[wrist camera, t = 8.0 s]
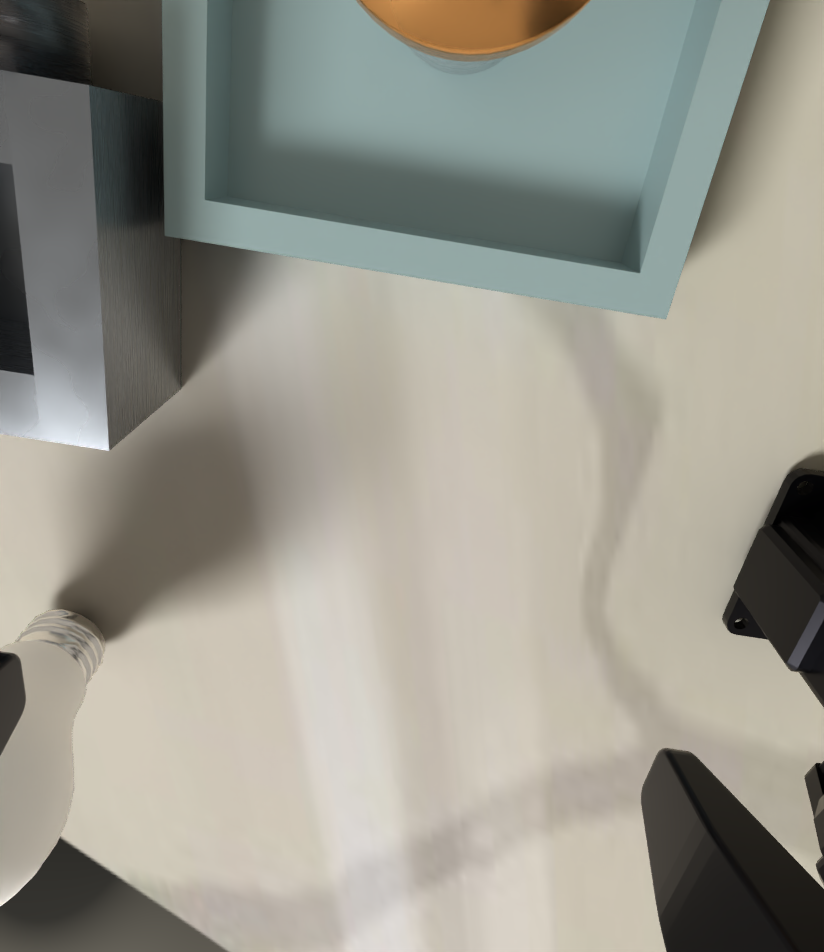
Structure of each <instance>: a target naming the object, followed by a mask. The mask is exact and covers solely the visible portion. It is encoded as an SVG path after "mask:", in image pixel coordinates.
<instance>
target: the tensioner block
mask: <svg viewBox="0 0 824 952" xmlns="http://www.w3.org/2000/svg"><path fill="white" fill-rule="evenodd" d="M180 389H181V238H175V237H169V236H165V224H164V143H163V102H162V101H157V100H153V99H148V98H144V97H139V96H135V95H131V94H126V93H122V92H117V91H113V90H108V89H104V88H99V87H95V86H92V85H91V66H90V48H89V29H88V10H87V6H86V4H85V3H83V2H81V1H80V0H0V434H4V435H11V436H17V437H24V438H30V439H36V440H43V441H49V442H56V443H62V444H68V445H75V446H81V447H88V448H94V449H100V450H107V451H109V450H111V449H112V448H113V447H114V446H115V445H116V444H118V443H119V442H120V441H121V440H122V439H123V438H125V437H126V436H127V435H128V434H129V433H130V432H132V431H133V430H134V429H135V428H136V427H137V426H139V425H140V424H141V423H142V422H143V421H144V420H145V419H147V418H148V417H149V416H150V415H151V414H152V413H154V412H155V411H156V410H157V409H158V408H159V407H161V406H162V405H163V404H164V403H165V402H166V401H168V400H169V399H170V398H171V397H172V396H173V395H175V394H176V393H177V392H178V391H179V390H180Z"/></svg>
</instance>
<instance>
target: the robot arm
mask: <svg viewBox="0 0 824 952" xmlns="http://www.w3.org/2000/svg"><path fill="white" fill-rule="evenodd" d="M804 481H807V484H806V485H805V487H803V488H802V489H797V487H798V486H799V484H800V483H802V482H804ZM739 618H743V619H742V620H741V621H739V622H735V621H736V620H737V619H739ZM722 619H723V623H724V624H725V626H726V628H727V629H728V630H729V631H730V632H731V633H733V634H736V635H742V636H749V637H755V638H762V639H768V640H769V641H770V643H771V644H772V645H773V647H774V648H775V650H776V651H777V653H778V654H779V656H780V657H781V659H782V660H783V661H784V663H785V664H786V666H787V667H788V669H790V670H791V671H794V672H799V673H800V675H801V676H802V677H803V679H804V680H805V682H806V683H807V684H808V686H809V687H810V689H811V690H812V692H813V693H814V694H815V696H816V697H817V699H818V700H819V702H820V703H821V704H822V706H823V707H824V472H822V471H816V470H809V469H798V470H795V471H793V472H791V473H790V474H789V475H787V477H786V478H785V480H784V482H783V484H782V486H781V488H780V491H779V493H778V495H777V497H776V499H775V502H774V504H773V506H772V508H771V510H770V513H769V515H768V517H767V519H766V521H765V524H764V526H763V527H762V528H761V529H759V531H758V533H757V535H756V538H755V540H754V542H753V544H752V547H751V549H750V551H749V553H748V555H747V558H746V560H745V562H744V564H743V566H742V569H741V571H740V573H739V575H738V577H737V580H736V582H735V584H734V592H733V594H732V596H731V598H730V601H729V603H728V605H727V607H726V609H725V612H724V614H723V618H722ZM25 704H26V692H25V685H24V678H23V671H22V664H21V660H20V658H19V656H18V655H17V654H14V653H10V652H3V651H0V756H1V754H2V752H3V750H4V748H5V746H6V744H7V743H8V741H9V739H10V737H11V735H12V733H13V731H14V729H15V727H16V726H17V724H18V722H19V720H20V718H21V716H22V714H23V711H24V708H25ZM805 781H806V786H807V790H808V794H809V798H810V802H811V806H812V811H813V815H814V823H815V828H816V832H817V837H818V841H819V846H820V850H821V853H822V855H823V856H822V857H821V858H820V859H819V860H818V861H817V863H816V867H817V871H818V874H819V876H820V879H821V881H822V883H823V885H824V761H823V762H822V763H821V764H820V763H816V764H815V765H814V766H813V767H812V768H811V769H810V770H809V771H808V773H807V774H806V775H805ZM641 805H642V812H643V819H644V825H645V832H646V839H647V846H648V852H649V859H650V866H651V873H652V879H653V886H654V893H655V899H656V905H657V911H658V917H659V922H660V926H661V930H662V935H663V939H664V943H665V947H666V951H667V952H824V889H823V888H822V887H821V886H820V885H819V884H818V883H817V882H816V881H815V880H814V879H813V877H812V876H811V875H810V874H809V873H808V872H807V871H806V870H805V869H804V868H803V867H802V866H801V865H800V864H799V863H798V862H797V861H796V860H795V859H794V858H793V857H792V856H791V855H790V854H789V853H788V851H787V850H786V849H785V848H784V847H783V846H782V845H781V844H780V843H779V842H778V841H777V840H776V839H775V838H774V837H773V836H772V835H771V834H770V833H769V832H768V831H767V830H766V829H765V828H764V827H763V825H762V824H761V823H760V822H759V821H758V820H757V819H756V818H755V817H754V816H753V815H752V814H751V813H750V812H749V811H748V810H747V809H746V808H745V807H744V806H743V805H742V804H741V803H740V802H739V801H738V799H737V798H736V797H735V796H734V795H733V794H732V793H731V792H730V791H729V790H728V789H727V788H726V787H725V786H724V785H723V784H722V783H721V782H720V781H719V780H718V779H717V778H716V777H715V776H714V775H713V773H712V772H711V771H710V770H709V769H708V768H707V767H706V766H705V765H704V764H703V763H702V762H701V761H700V760H699V759H698V758H697V757H696V756H695V755H694V754H692V753H691V752H688V751H683V750H676V749H669V748H663V749H661V750H660V751H659V752H658V754H657V755H656V758H655V760H654V762H653V764H652V766H651V769H650V771H649V773H648V775H647V778H646V780H645V782H644V784H643V787H642V792H641Z"/></svg>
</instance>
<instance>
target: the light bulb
mask: <svg viewBox="0 0 824 952" xmlns="http://www.w3.org/2000/svg"><path fill="white" fill-rule="evenodd" d="M0 651H3V652H10V653H14V654H17V655H18V656H19V658H20V660H21V664H22V671H23V678H24V685H25V692H26V704H25V708H24V711H23V714H22V716H21V718H20V720H19V722H18V724H17V726H16V727H15V729H14V731H13V733H12V735H11V737H10V739H9V741H8V743H7V744H6V746H5V748H4V750H3V752H2V754H1V756H0V906H1V905H3V904H4V903H5V902H7V901H8V900H9V899H10V898H12V897H13V896H14V895H15V894H17V892H18V891H19V890H20V889H21V888H22V887H23V886H24V885H25V884H26V883H27V882H28V881H29V880H30V879H31V878H32V877H33V876H34V875H35V874H36V872H37V871H38V870H39V868H40V867H41V865H42V864H43V862H44V861H45V859H46V858H47V857H48V855H49V854H50V852H51V851H52V849H53V848H54V846H55V845H56V843H57V841H58V839H59V837H60V835H61V832H62V830H63V828H64V826H65V824H66V821H67V817H68V814H69V810H70V806H71V802H72V797H73V793H74V763H73V746H72V730H73V724H74V719H75V717H76V714H77V712H78V710H79V708H80V707H81V705H82V703H83V700H84V697H85V693H86V685H87V684H88V683H89V681H90V680H91V679H92V676H93V675H94V674H95V673H96V672H97V669H98V668H99V666H100V665H101V664H102V663H103V656H104V651H105V640H104V638H103V635H102V632H101V631H100V630H99V629H98V628H97V626H96V625H95V624H94V623H93V622H92V621H90V620H88V619H87V618H85V617H83V616H82V615H80V614H77V613H74V612H71V611H68V610H65V609H58V610H48V611H46V612H44V613H42V614H40V615H38V616H36V617H35V618H34V619H33V621H32V622H31V623H30V624H28V626H27V627H26V629H25V630H24V631H22V632H21V634H20V635H19V636H18V638H17V639H16V640H15V642H14V643H11V644H8V645H6V646H4V647H3V648H1V649H0Z"/></svg>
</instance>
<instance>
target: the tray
mask: <svg viewBox="0 0 824 952" xmlns="http://www.w3.org/2000/svg"><path fill="white" fill-rule="evenodd" d="M769 1H770V0H591V1H590V2H589V3H588V4H587V5H586V6H585V8H584V9H583V10H582V11H581V12H580V13H579V14H577V15H576V16H575V17H574V18H573V19H572V20H571V21H570V22H569V23H568V24H567V25H566V26H564V27H563V28H562V29H560V30H559V31H557V32H556V33H555V34H553V35H552V36H550V37H549V38H547V39H546V40H544V41H542V42H540V43H538V44H537V45H535V46H533V47H531V48H529V49H527V50H524V51H522V52H519V53H516V54H513V55H511V56H508V57H506V58H505V59H504V60H503V61H501V62H500V63H498V64H497V65H495V66H493V67H491V68H490V69H487V70H485V71H482V72H479V73H474V74H469V75H456V74H449V73H445V72H441V71H439V70H437V69H434V68H432V67H431V66H429V65H428V64H426V63H424V62H423V61H422V60H421V59H420V58H418V57H417V56H416V55H415V54H414V53H413V51H412V50H411V49H410V48H409V47H408V46H407V45H406V44H404V43H403V42H401V41H399V40H398V39H396V38H394V37H393V36H391V35H390V34H389V33H388V32H386V31H385V30H384V29H383V28H382V27H380V26H379V25H378V24H377V23H376V22H374V20H373V19H372V18H371V17H370V16H369V15H368V14H367V13H366V12H365V11H364V10H363V9H362V7H361V6H360V5H359V4H358V3H357V1H356V0H162V61H163V143H164V224H165V236H169V237H175V238H181V239H187V240H193V241H199V242H205V243H211V244H217V245H223V246H229V247H235V248H241V249H247V250H253V251H259V252H265V253H271V254H277V255H283V256H289V257H295V258H301V259H307V260H313V261H319V262H325V263H331V264H337V265H343V266H349V267H355V268H361V269H367V270H373V271H379V272H385V273H391V274H397V275H403V276H409V277H415V278H421V279H427V280H433V281H439V282H445V283H451V284H457V285H463V286H469V287H475V288H481V289H487V290H493V291H499V292H505V293H511V294H517V295H523V296H529V297H535V298H541V299H547V300H553V301H559V302H565V303H571V304H577V305H583V306H589V307H595V308H601V309H607V310H613V311H619V312H625V313H631V314H637V315H643V316H649V317H655V318H661V319H666V318H667V315H668V312H669V309H670V306H671V303H672V300H673V296H674V293H675V290H676V287H677V284H678V281H679V278H680V275H681V272H682V269H683V266H684V263H685V260H686V257H687V253H688V250H689V247H690V244H691V241H692V238H693V235H694V232H695V229H696V226H697V223H698V220H699V217H700V213H701V210H702V207H703V204H704V201H705V198H706V195H707V192H708V189H709V186H710V183H711V180H712V177H713V173H714V170H715V167H716V164H717V161H718V158H719V155H720V152H721V149H722V146H723V143H724V140H725V137H726V134H727V130H728V127H729V124H730V121H731V118H732V115H733V112H734V109H735V106H736V103H737V100H738V97H739V94H740V90H741V87H742V84H743V81H744V78H745V75H746V72H747V69H748V66H749V63H750V60H751V57H752V54H753V51H754V47H755V44H756V41H757V38H758V35H759V32H760V29H761V26H762V23H763V20H764V17H765V14H766V11H767V7H768V4H769Z"/></svg>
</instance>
